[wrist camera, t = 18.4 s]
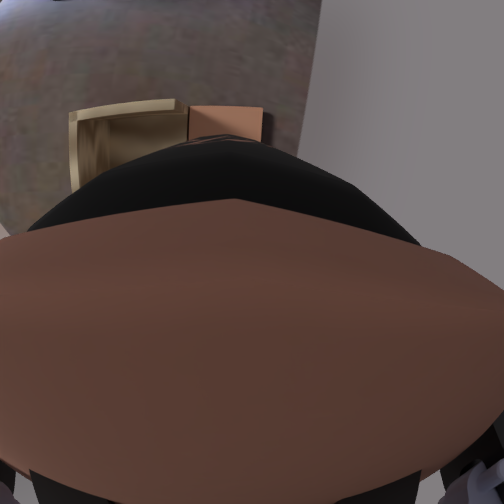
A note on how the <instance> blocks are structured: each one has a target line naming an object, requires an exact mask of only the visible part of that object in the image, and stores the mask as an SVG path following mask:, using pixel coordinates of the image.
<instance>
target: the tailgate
mask: <svg viewBox="0 0 504 504" xmlns="http://www.w3.org/2000/svg"><path fill="white" fill-rule="evenodd" d="M262 116H263V108H258V107H240V106H190V117H189V140H192V139H195V138H198V137H203V136H212V135H221V134H231V135H236V136H240V137H244V138H249V139H253V140H256V141H258V142H261V130H262Z"/></svg>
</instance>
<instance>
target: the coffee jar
mask: <svg viewBox="0 0 504 504" xmlns="http://www.w3.org/2000/svg"><path fill="white" fill-rule="evenodd" d="M503 410H504V290H502V289H501V288H499V287H498V286H497V285H495V284H494V283H492V282H491V281H489V280H488V279H486V278H485V277H483V276H482V275H480V274H478V273H477V272H476V271H474V270H473V269H471V268H469V267H468V266H466V265H464V264H463V263H461V262H460V261H458V260H456V259H455V258H453V257H451V256H449V255H446V254H443V253H440V252H437V251H434V250H431V249H428V248H424V247H422V246H421V245H420V243H419V242H418V241H416V239H414V238H413V237H412V236H411V235H410V234H409V233H408V232H407V231H406V230H405V229H404V228H403V227H402V226H401V225H399V224H398V223H397V222H396V221H395V220H394V219H393V218H392V217H391V216H390V215H388V214H387V213H386V212H385V211H384V210H383V209H381V208H380V207H379V206H378V205H377V204H376V203H375V202H373V201H372V200H371V199H370V198H369V197H367V196H366V195H365V194H364V193H362V192H361V191H360V190H359V189H358V188H356V187H355V186H354V185H352V184H350V183H348V182H346V181H344V180H342V179H340V178H338V177H336V176H334V175H332V174H330V173H328V172H326V171H324V170H322V169H320V168H318V167H316V166H314V165H312V164H310V163H307V162H305V161H303V160H301V159H299V158H296V157H294V156H292V155H290V154H287V153H285V152H283V151H280V150H278V149H276V148H273V147H271V146H268V145H266V144H263V143H261V142H258V141H256V140H253V139H249V138H244V137H240V136H236V135H231V134H221V135H212V136H203V137H198V138H195V139H192V140H189V141H185V142H182V143H179V144H176V145H173V146H170V147H167V148H164V149H161V150H158V151H156V152H153V153H150V154H147V155H145V156H142V157H139V158H137V159H134V160H132V161H129V162H127V163H124V164H122V165H119V166H117V167H115V168H112V169H110V170H108V171H105V172H103V173H101V174H100V175H98V176H97V177H95V178H94V179H92V180H91V181H89V182H88V183H86V184H85V185H84V186H82V187H81V188H79V189H78V190H76V191H75V192H74V193H72V194H71V195H70V196H68V197H67V198H66V199H64V200H63V201H62V202H60V203H59V204H58V205H56V206H55V207H54V208H53V209H51V210H50V211H49V212H48V213H46V214H45V215H44V216H43V217H41V218H40V219H39V220H38V221H37V222H35V223H34V224H33V225H32V226H31V227H30V228H29V229H28V231H27V232H25V233H21V234H17V235H13V236H9V237H5V238H3V239H1V240H0V460H1V461H2V462H4V463H5V464H6V465H8V466H9V467H11V468H12V469H13V470H15V471H16V472H18V473H20V474H21V475H22V476H24V477H25V478H27V479H29V480H30V481H32V479H31V476H30V472H29V469H30V470H32V471H34V472H36V473H39V474H41V475H43V476H45V477H47V478H49V479H52V480H54V481H56V482H59V483H61V484H64V485H66V486H69V487H71V488H74V489H77V490H80V491H83V492H86V493H89V494H92V495H95V496H98V497H102V498H105V499H108V500H109V501H111V502H113V503H115V504H334V503H336V502H337V501H339V500H341V499H344V498H347V497H351V496H354V495H357V494H361V493H364V492H367V491H370V490H373V489H376V488H378V487H381V486H384V485H386V484H389V483H391V482H394V481H396V480H399V479H401V478H403V477H406V476H408V475H410V474H412V473H415V472H417V471H419V470H421V469H422V471H421V477H420V481H422V480H424V479H425V478H427V477H429V476H430V475H431V474H433V473H435V472H436V471H438V470H439V469H441V468H442V467H444V466H445V465H447V464H448V463H449V462H451V461H452V460H453V459H455V458H456V457H457V456H458V455H460V454H461V453H462V452H463V451H464V450H466V449H467V448H468V447H469V446H470V445H471V444H473V443H474V442H475V441H476V440H477V439H478V438H479V437H480V436H481V435H482V434H483V433H484V432H485V431H486V430H487V429H488V428H489V427H490V426H491V425H492V423H493V422H494V421H495V420H496V419H497V418H498V416H499V415H500V414H501V413H502V412H503Z"/></svg>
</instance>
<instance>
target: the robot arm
mask: <svg viewBox="0 0 504 504" xmlns="http://www.w3.org/2000/svg"><path fill="white" fill-rule="evenodd" d="M53 1H58V0H53ZM421 471H422V469H421V470H419V471H417V472H415V473H412V474H410V475H408V476H406V477H403V478H401V479H399V480H396V481H394V482H391V483H389V484H386V485H384V486H381V487H378V488H376V489H373V490H370V491H367V492H364V493H361V494H357V495H354V496H351V497H347V498H344V499H341V500H339V501H337V502H336V503H334V504H415V500H416V496H417V492H418V486H419V482H420V477H421ZM29 472H30V476H31V479H32V483H33V486H34V490H35V493H36V496H37V498H38V502H39V504H115V503H113V502H111V501H109V500H108V499H105V498H102V497H98V496H95V495H92V494H89V493H86V492H83V491H80V490H77V489H74V488H71V487H69V486H66V485H64V484H61V483H59V482H56V481H54V480H52V479H49V478H47V477H45V476H43V475H41V474H39V473H36V472H34V471H32V470H30V469H29ZM440 473H441V477H442V481H443V485H444V488H445V491H446V493H445V496H444V497H442V498H441V499H440V500H439V502H438V504H504V410H503V412H502V413H501V414H500V415H499V416H498V418H497V419H496V420H495V421H494V422H493V423H492V425H491V426H490V427H489V428H488V429H487V430H486V431H485V432H484V433H483V434H482V435H481V436H480V437H479V438H478V439H477V440H476V441H475V442H474V443H473V444H471V445H470V446H469V447H468V448H467V449H466V450H464V451H463V452H462V453H461V454H460V455H458V456H457V457H456V458H455V459H453V460H452V461H451V462H449V463H448V464H447V465H445V466H444V467H442V468H441V469H440ZM15 474H16V471H15V470H13V469H12V468H11V467H9V466H8V465H6V464H5V463H4V462H2V461H1V460H0V504H20V503H19V502H18V501H17V500H15V499H14V496H13V493H14V486H15Z"/></svg>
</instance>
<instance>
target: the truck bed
mask: <svg viewBox="0 0 504 504" xmlns="http://www.w3.org/2000/svg"><path fill="white" fill-rule="evenodd" d="M188 118H189V107H188V106H187V105H185V104H183V103H181V102H180V101H178V100H176V99H161V100H148V101H137V102H128V103H120V104H113V105H106V106H100V107H94V108H89V109H84V110H79V111H74V112H69V158H70V174H71V186H72V193H74V192H75V191H76V190H78V189H79V188H81V187H82V186H84V185H85V184H86V183H88V182H89V181H91V180H92V179H94V178H95V177H97V176H98V175H100V174H101V173H103V172H105V171H108V170H110V169H112V168H115V167H117V166H119V165H122V164H124V163H127V162H129V161H132V160H134V159H137V158H139V157H142V156H145V155H147V154H150V153H153V152H156V151H158V150H161V149H164V148H167V147H170V146H173V145H176V144H179V143H182V142H185V141H188Z"/></svg>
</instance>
